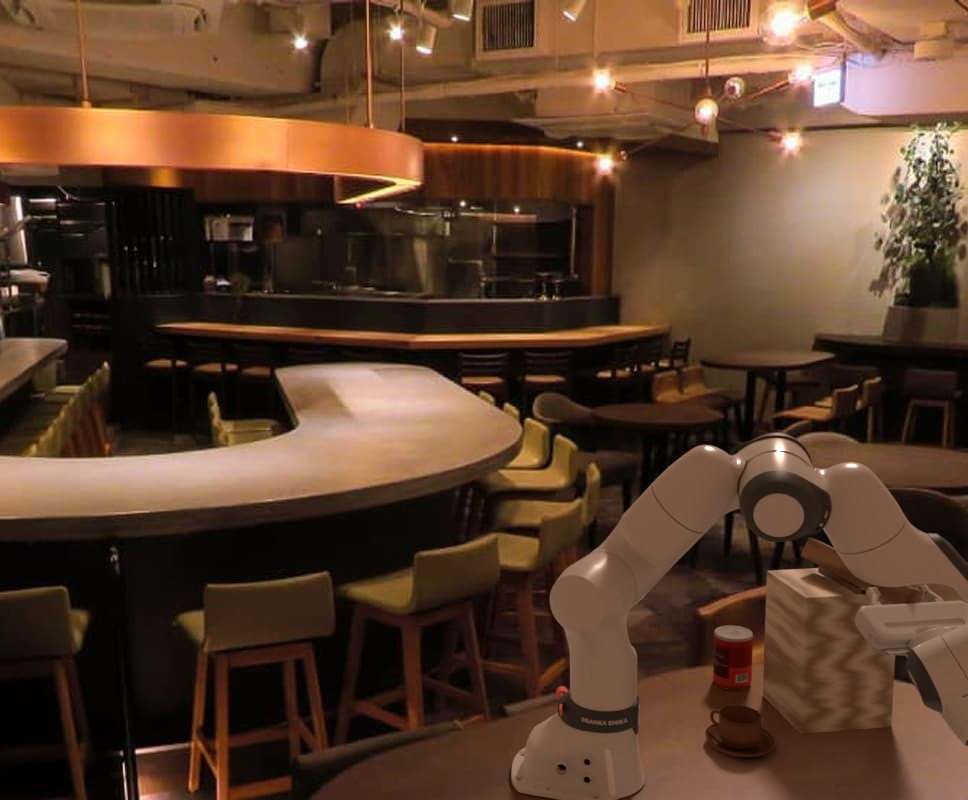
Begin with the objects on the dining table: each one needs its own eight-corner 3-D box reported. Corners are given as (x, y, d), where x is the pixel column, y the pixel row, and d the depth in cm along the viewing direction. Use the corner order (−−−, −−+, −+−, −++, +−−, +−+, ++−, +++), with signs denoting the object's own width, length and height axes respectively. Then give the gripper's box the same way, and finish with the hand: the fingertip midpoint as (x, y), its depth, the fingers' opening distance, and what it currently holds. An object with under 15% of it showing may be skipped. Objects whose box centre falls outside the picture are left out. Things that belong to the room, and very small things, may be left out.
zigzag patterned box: (800, 733, 169) (806, 591, 166) (762, 695, 185) (767, 564, 181) (891, 726, 172) (898, 586, 168) (846, 689, 187) (852, 560, 184)
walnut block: (900, 608, 159) (910, 587, 158) (800, 555, 180) (808, 537, 179) (914, 613, 161) (924, 592, 160) (813, 560, 182) (822, 541, 181)
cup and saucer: (697, 754, 162) (698, 721, 162) (714, 725, 173) (715, 694, 172) (766, 770, 157) (768, 736, 156) (779, 739, 167) (781, 707, 167)
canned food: (755, 679, 192) (757, 629, 191) (744, 694, 186) (746, 642, 184) (720, 671, 196) (721, 622, 195) (707, 685, 190) (709, 634, 188)
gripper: (870, 668, 152) (835, 603, 163) (983, 660, 155) (941, 597, 166) (883, 644, 148) (846, 579, 159) (998, 636, 151) (954, 573, 162)
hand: (895, 588), depth 162 cm, fingers open, 8 cm apart
